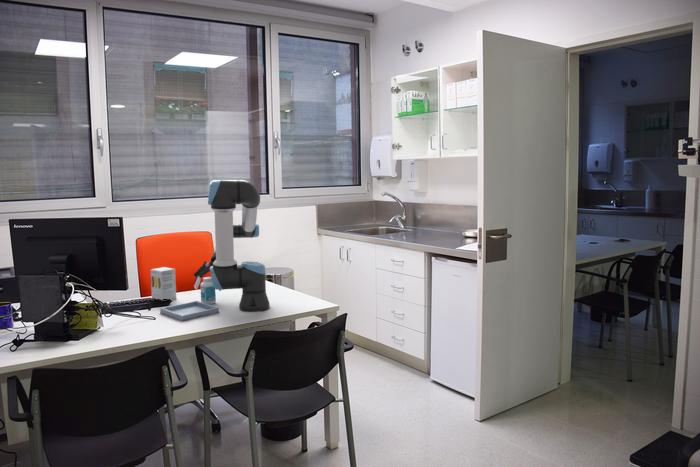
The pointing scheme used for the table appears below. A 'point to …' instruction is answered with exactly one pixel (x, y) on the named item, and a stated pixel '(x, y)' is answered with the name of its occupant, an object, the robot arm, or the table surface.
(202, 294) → the pill bottle
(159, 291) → the supplement box
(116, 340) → the table surface
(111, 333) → the table surface
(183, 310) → the tray
